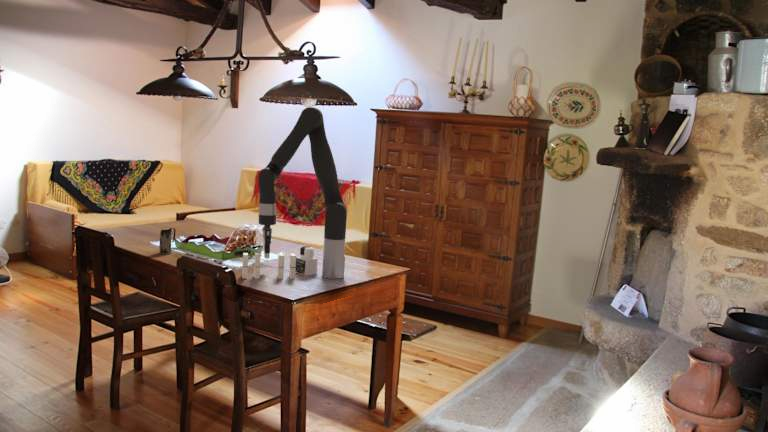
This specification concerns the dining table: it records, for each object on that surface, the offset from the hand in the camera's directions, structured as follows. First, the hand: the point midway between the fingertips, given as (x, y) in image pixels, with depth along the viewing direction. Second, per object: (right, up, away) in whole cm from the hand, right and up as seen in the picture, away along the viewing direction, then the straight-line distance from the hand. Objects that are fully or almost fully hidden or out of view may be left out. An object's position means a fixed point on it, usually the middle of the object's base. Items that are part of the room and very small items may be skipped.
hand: (266, 251), depth 282 cm
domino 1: (-8, -10, -10) cm, 16 cm away
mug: (-53, -2, +28) cm, 60 cm away
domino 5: (+12, -11, -5) cm, 17 cm away
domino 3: (0, -3, 0) cm, 2 cm away
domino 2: (-3, -10, -9) cm, 14 cm away
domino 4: (+7, -11, -6) cm, 14 cm away
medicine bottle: (+17, -10, +5) cm, 20 cm away
